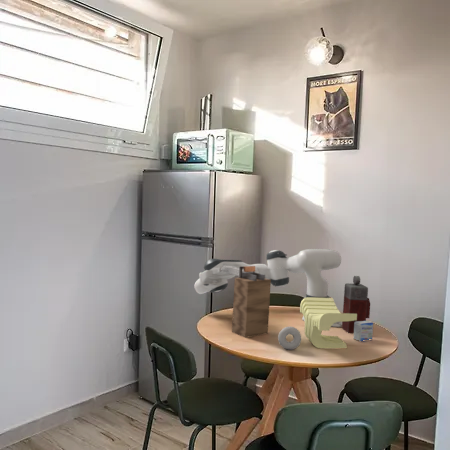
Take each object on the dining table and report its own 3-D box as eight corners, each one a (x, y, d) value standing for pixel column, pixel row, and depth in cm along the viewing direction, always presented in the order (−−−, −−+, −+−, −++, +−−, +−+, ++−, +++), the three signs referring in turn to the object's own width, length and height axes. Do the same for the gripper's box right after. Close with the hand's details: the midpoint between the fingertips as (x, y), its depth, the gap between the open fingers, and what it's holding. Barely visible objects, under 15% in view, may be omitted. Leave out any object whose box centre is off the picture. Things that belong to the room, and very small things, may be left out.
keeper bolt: (220, 271, 228) (220, 261, 228) (229, 271, 232) (230, 260, 232) (245, 278, 212) (245, 267, 212) (254, 277, 216) (255, 266, 216)
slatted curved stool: (298, 333, 217) (300, 297, 216) (330, 334, 219) (332, 298, 218) (317, 354, 187) (320, 312, 186) (354, 355, 189) (357, 313, 188)
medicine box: (359, 342, 208) (361, 323, 208) (353, 339, 212) (354, 321, 212) (372, 340, 212) (373, 322, 211) (365, 337, 216) (366, 319, 215)
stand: (231, 331, 214) (235, 266, 212) (254, 328, 222) (257, 265, 220) (245, 337, 206) (248, 270, 204) (267, 333, 214) (271, 268, 212)
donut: (300, 348, 194) (301, 326, 193) (301, 351, 190) (302, 328, 190) (276, 347, 194) (278, 324, 193) (277, 350, 190) (279, 327, 190)
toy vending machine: (369, 333, 223) (373, 278, 221) (347, 333, 222) (351, 277, 220) (362, 328, 232) (366, 274, 230) (341, 328, 231) (345, 274, 229)
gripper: (230, 282, 243) (245, 273, 233) (199, 285, 231) (213, 275, 221) (227, 271, 245) (241, 262, 236) (196, 273, 233) (210, 264, 223)
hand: (227, 268), depth 228 cm, fingers open, 8 cm apart
